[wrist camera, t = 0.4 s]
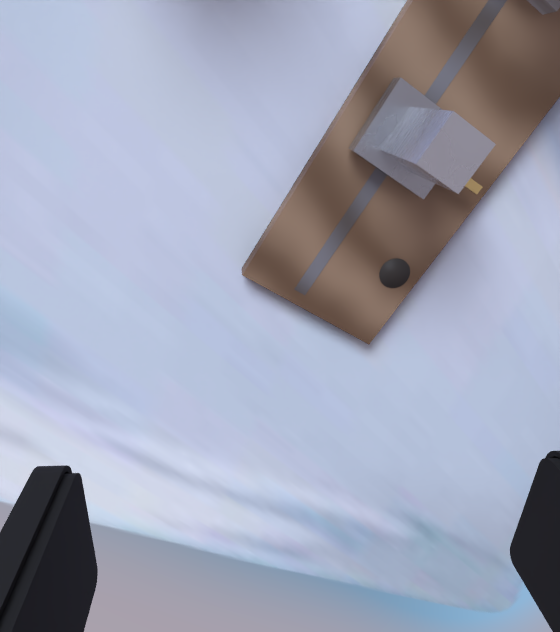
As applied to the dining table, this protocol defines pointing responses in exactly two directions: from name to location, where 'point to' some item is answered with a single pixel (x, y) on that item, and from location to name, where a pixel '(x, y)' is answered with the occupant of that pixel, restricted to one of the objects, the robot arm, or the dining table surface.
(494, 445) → the dining table surface
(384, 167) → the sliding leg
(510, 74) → the wooden board with posts
